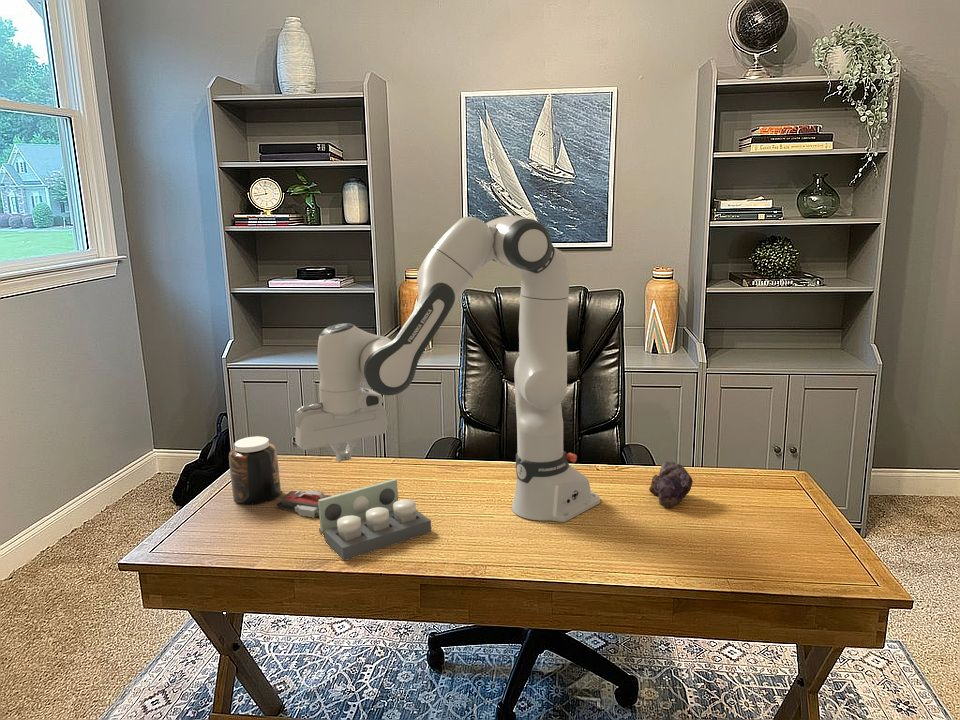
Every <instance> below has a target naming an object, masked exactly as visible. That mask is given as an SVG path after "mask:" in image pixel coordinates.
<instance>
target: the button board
mask: <svg viewBox="0 0 960 720" xmlns="http://www.w3.org/2000/svg"><path fill="white" fill-rule="evenodd" d="M431 521H432V520H431V519H430V518H428V517H427V516H425V515H424V514H423V513H421V512H420V511H418V510H417V509H416V519H415V520H412V521H409V522H406V523H402V524H400V523H399V522H397V521H396V520H395V519H394V511H393V510H392V511H389V528H386V529H383V530H380V531H377V532H374V533H373V532H372V531H371V530H369V529H368V528H367V522H366V519H362V520H361V537H358V538H354V539H351V540H348V541H345V542H344V541H343V540H342V539H341V538H340V537H339V532H338V527H336V528H332V529H329V530H326V531H324V533H325V537H324V539H325V540H324V542H326V543H327V544H328V545H329V546H330V547H331V548H332V549H333V550H334V551H335V552H336V553H337V554H338V555H339V556H340V557H341V558H342V559H343V560H344V561H346V560H347V561H348V560H350V559H352V558H353V557H354V558H356V556H357V557H359V555H360V556H362V555H365V553H366V554H368V552H369V553H372V552H374V550H375V551H377V549H378V550H381V549H384V548H387V547H389V546H393V545H396V544H399V543H403V542H406V541H408V540H411V538H412V539H414V538H417V537H419V536H420V537H421V536H424V535H426V534H430V533H432V522H431ZM326 543H325V544H326ZM327 544H326V545H327ZM328 545H327V546H328ZM329 546H328V547H329ZM330 547H329V548H330ZM331 548H330V549H331ZM380 548H381V549H380ZM332 549H331V550H332ZM333 550H332V551H333ZM334 551H333V552H334ZM371 551H372V552H371ZM335 552H334V553H335ZM336 553H335V554H336ZM337 554H336V555H337ZM338 555H337V556H338ZM339 556H338V557H339ZM340 557H339V558H340ZM341 558H340V559H341ZM354 558H353V559H354ZM342 559H341V560H342ZM343 560H342V561H343Z"/></svg>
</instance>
